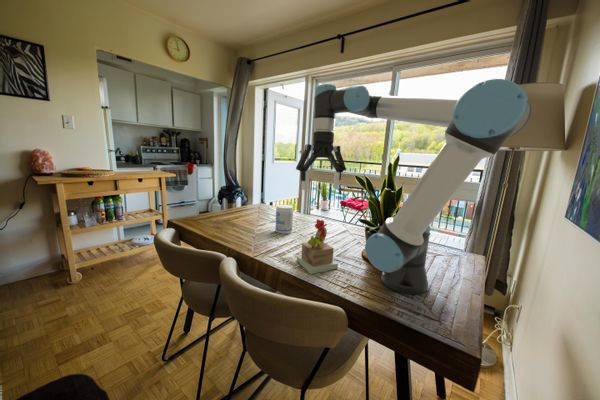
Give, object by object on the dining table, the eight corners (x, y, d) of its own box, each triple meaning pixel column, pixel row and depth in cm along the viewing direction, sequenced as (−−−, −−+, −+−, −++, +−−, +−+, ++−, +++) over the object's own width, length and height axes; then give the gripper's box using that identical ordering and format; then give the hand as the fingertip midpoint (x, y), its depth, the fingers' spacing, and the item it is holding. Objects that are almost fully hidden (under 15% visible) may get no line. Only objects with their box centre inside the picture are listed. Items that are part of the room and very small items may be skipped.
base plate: (337, 268, 95) (337, 263, 95) (310, 273, 90) (310, 268, 90) (321, 256, 106) (322, 252, 106) (297, 260, 101) (297, 256, 100)
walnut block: (332, 262, 96) (333, 247, 95) (313, 266, 92) (314, 251, 91) (319, 253, 104) (320, 240, 103) (301, 257, 99) (302, 243, 98)
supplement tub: (272, 232, 135) (272, 206, 132) (279, 228, 143) (280, 203, 140) (288, 235, 131) (289, 208, 128) (295, 230, 140) (295, 205, 137)
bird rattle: (313, 247, 101) (304, 244, 93) (319, 221, 102) (311, 216, 95) (327, 250, 98) (319, 248, 90) (333, 223, 99) (325, 219, 92)
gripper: (345, 134, 97) (342, 187, 101) (288, 129, 86) (286, 188, 90) (357, 133, 90) (353, 189, 94) (297, 128, 79) (294, 192, 83)
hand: (320, 189), depth 92 cm, fingers open, 13 cm apart
